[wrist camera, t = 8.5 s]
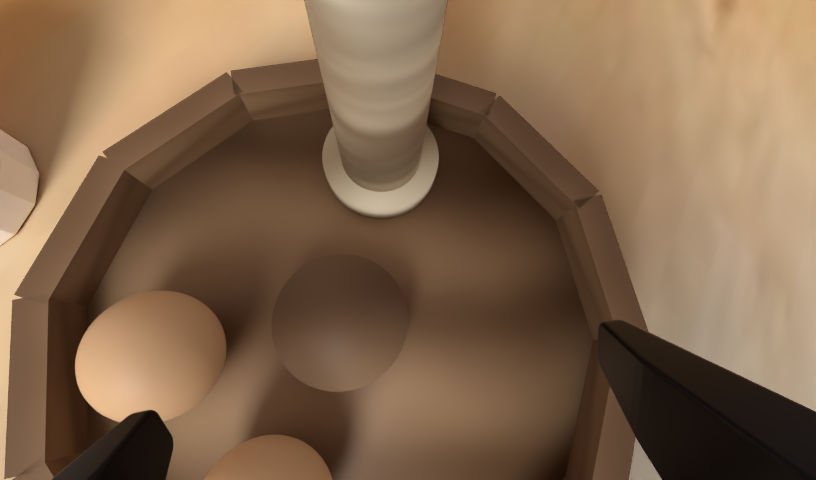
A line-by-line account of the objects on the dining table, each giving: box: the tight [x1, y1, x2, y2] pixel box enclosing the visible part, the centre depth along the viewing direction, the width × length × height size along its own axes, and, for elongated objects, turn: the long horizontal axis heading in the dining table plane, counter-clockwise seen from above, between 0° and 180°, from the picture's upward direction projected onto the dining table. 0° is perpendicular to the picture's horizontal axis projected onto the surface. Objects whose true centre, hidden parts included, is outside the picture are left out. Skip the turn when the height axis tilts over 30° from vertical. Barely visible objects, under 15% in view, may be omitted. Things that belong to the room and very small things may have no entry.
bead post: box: [304, 0, 448, 219], centre depth 12 cm, size 5×5×15 cm
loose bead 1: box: [75, 291, 227, 422], centre depth 14 cm, size 4×4×4 cm
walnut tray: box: [4, 59, 648, 480], centre depth 17 cm, size 22×22×3 cm
